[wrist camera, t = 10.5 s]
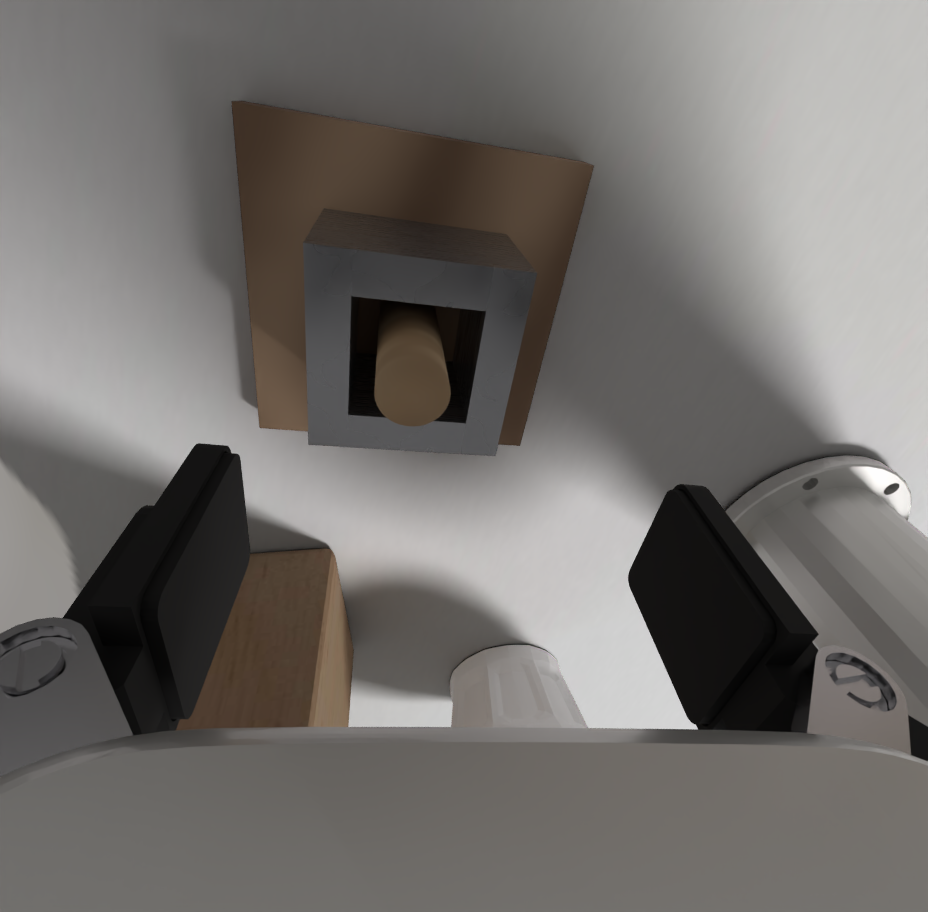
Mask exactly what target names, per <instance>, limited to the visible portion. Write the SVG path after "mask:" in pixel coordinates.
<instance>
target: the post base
mask: <svg viewBox="0 0 928 912" xmlns="http://www.w3.org/2000/svg"><path fill="white" fill-rule="evenodd" d="M232 113H233V124H234V136H235V148H236V159H237V171H238V182H239V194H240V206H241V217H242V229H243V241H244V252H245V264H246V276H247V287H248V299H249V310H250V322H251V334H252V345H253V357H254V369H255V380H256V392H257V404H258V415H259V427H260V428H268V429H282V430H297V431H308V408H307V370H306V333H305V295H304V258H303V242H304V240H305V239H306V237H307V235H308V234H309V232H310V230H311V229H312V227H313V225H314V224H315V222H316V220H317V219H318V217H319V215H320V214H321V212H322V210H323V209H324V208H326V209H333V210H340V211H347V212H354V213H361V214H368V215H375V216H382V217H389V218H396V219H404V220H411V221H418V222H425V223H432V224H439V225H446V226H453V227H460V228H467V229H474V230H481V231H488V232H495V233H502V234H507V235H508V237H509V238H510V239H511V240H512V242H513V243H514V244H515V245H516V247H517V248H518V249H519V250H520V252H521V253H522V254H523V256H524V257H525V258H526V259H527V261H528V262H529V263H530V264H531V266H532V267H533V268H534V270H535V271H536V272H537V277H536V281H535V285H534V290H533V294H532V298H531V303H530V307H529V311H528V316H527V320H526V324H525V329H524V333H523V337H522V342H521V346H520V351H519V355H518V359H517V364H516V368H515V372H514V377H513V381H512V385H511V390H510V394H509V398H508V403H507V407H506V412H505V416H504V420H503V425H502V429H501V433H500V438H499V442H498V444H501V445H516V446H520V443H521V440H522V436H523V432H524V428H525V424H526V421H527V417H528V413H529V409H530V406H531V402H532V398H533V394H534V390H535V387H536V383H537V379H538V375H539V372H540V368H541V364H542V360H543V356H544V353H545V349H546V345H547V341H548V338H549V334H550V330H551V326H552V322H553V319H554V315H555V311H556V307H557V303H558V300H559V296H560V292H561V288H562V285H563V281H564V277H565V273H566V269H567V266H568V262H569V258H570V254H571V251H572V247H573V243H574V239H575V235H576V232H577V228H578V224H579V220H580V216H581V213H582V209H583V205H584V201H585V198H586V194H587V190H588V186H589V182H590V179H591V175H592V171H593V167H594V166H593V165H591V164H588V163H585V162H581V161H576V160H570V159H565V158H559V157H553V156H548V155H542V154H537V153H531V152H525V151H520V150H514V149H508V148H503V147H497V146H492V145H486V144H480V143H475V142H469V141H464V140H458V139H452V138H447V137H441V136H436V135H430V134H424V133H419V132H413V131H407V130H402V129H396V128H391V127H385V126H379V125H374V124H368V123H363V122H357V121H351V120H346V119H340V118H335V117H329V116H323V115H318V114H312V113H306V112H301V111H295V110H290V109H284V108H278V107H273V106H267V105H262V104H256V103H250V102H245V101H232ZM459 315H460V308H452V307H443V306H434V305H425V304H416V303H408V302H399V301H390V300H381V299H372V298H363V297H359V307H358V336H357V353H368V354H377V358H376V374H375V389H374V396H375V401H376V404H377V406H378V408H379V410H380V411H381V413H382V414H383V415H384V416H385V417H386V418H388V419H389V420H391V421H392V422H394V423H397V424H399V425H403V426H422V425H425V424H428V423H430V422H432V421H434V420H436V419H437V418H438V417H440V416H441V415H442V414H443V412H444V411H445V410H446V408H447V406H448V404H449V401H450V395H451V390H450V384H449V379H448V373H447V368H446V363H445V361H453V355H454V348H455V341H456V335H457V328H458V322H459Z"/></svg>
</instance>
